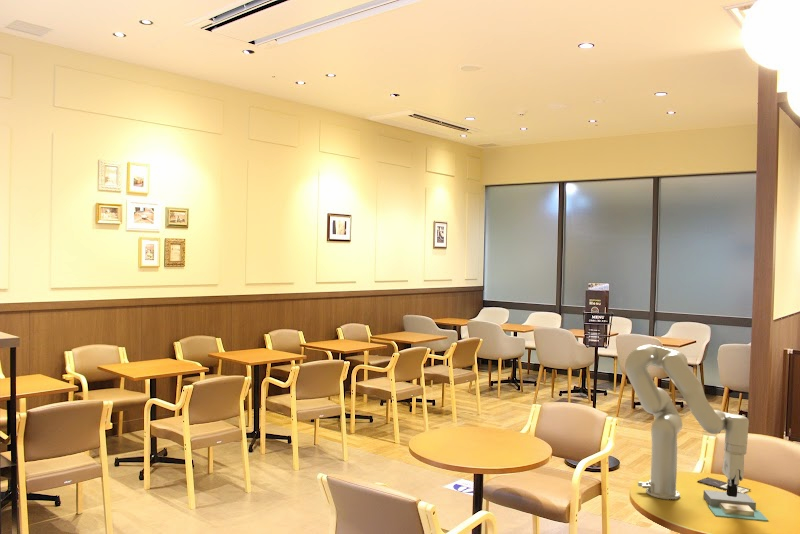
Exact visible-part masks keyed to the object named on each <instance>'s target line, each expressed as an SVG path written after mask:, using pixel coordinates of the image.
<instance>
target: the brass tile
mask: <svg viewBox="0 0 800 534" xmlns="http://www.w3.org/2000/svg"><path fill="white" fill-rule="evenodd" d="M719 507H720V508H721V509H722V510H723V511H724V512H725V513H729V514H739V515H750V516H754V511H753V510H752V509H751V508H750V507H749V506H748V505H745V504H734V503H723V502H720V504H719Z"/></svg>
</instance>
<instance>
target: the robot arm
mask: <svg viewBox="0 0 800 534" xmlns="http://www.w3.org/2000/svg"><path fill="white" fill-rule="evenodd" d="M688 363H689V362H688V359H687V356H686V355H685V354H684V353H682V352H681V351H678V350H673V349H670V348H666V347H665V348H664V347H661V346H657V345H654V344H653V345H652V344H643V345H640V346H637V347H635V348H634V349H633V350H631V352H630V353H629V354H628V356H627V358H626V359H625V363H624V370H625V374H626V375H627V378H628V380H629V382H630V384H631V386H632V389H633V390H634V392H635V395H636V396H637V399H638V400H639V403H640V405H641V407H642V409H643V410H644V411H645V412H646V413H648V414H650V415H652V416H653V417H654V420H653V422H652V424H651V427H650V428H651V429H650V430H651V431H650V433H651V456H650V457H651V459H650V460H651V461H650V463H651V464H650V479H648V481H645V482H643V481H640V480H639V481H638V482H637V486H638V487H640V488H641V487H642V488H641V489H645V492H646V494H647V495H649V496H651V497H653V498H655V499H656V498H657V499H661V500H669V499H670V501H671V499H672V500H678V499H679V498H681V493H680V492H679V491H677V475H678V474H677V469H678V434H679V433H680V432H681V430H682V429H683V420H682V418H681V415H680V413H679V412H678V410H677V408H676V405H675V404H674V401H673V400H672V398H671V396H670V395H669V393H668V392H667V391H666V390H665V389H663V388H661V387H657V385H656V382H655V381H654V379H653V377H652V375H651V374H650V373H649V370H648V367H650V366H652V367H656V368H660V369H663V372H664V373H665V374H666V375H667V377H669V379H670V381H671V382H672V383H673V385H674V386H675V387H676V389H677V390H678V392H679V393H680V394H681V395H682V397H683V399H684V401H685V403H686V406H687V407H688V409H689V410H690V412H691V413H692V416H693V417H694V418H695V420H696V421H697V422H698V423H699V425H700V426H701V428H703V429H704V430H705V432H707V433H709V434H712V435H716V434H719V433H721V432H722V431H725V435H724V446H723V450H724V455H723V461H722V469H721V472H722V474H723V475H724V476H725V477H726V479H727V480H726V483H727V491H726V492H727V495H728V496H731V497H737V489H738V486H739V485H740V482H741V481H743V480H744V472H745V455H747V450H748V435H749V426H750V424H749V423H750V420H749V418H748V417H746V416H744V415H741V414H735V413H733V414H732V413H729V412H725V411H722V410H719V409H713V406H711V404H710V402H709V401H708V399H707V397H706V394H705V391H704V386H703V384H702V383H701V380H699V378H698V377H697V375H696V374H695V373H694V372H693V371H692V369H691V367H690V366H689V365H688Z"/></svg>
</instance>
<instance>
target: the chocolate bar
mask: <svg viewBox="0 0 800 534" xmlns="http://www.w3.org/2000/svg"><path fill="white" fill-rule="evenodd" d="M696 483H699V484H701V485H702V484H703V485H706V486H709V487H712V486H713V488H715V487H716V489H719V490H722V489H723V491H726V490H727V481H723V480H719V479H716V478H712V477H708V476H707V477H705V478H702V479H699V480H697V482H696ZM750 490H751V491H752V489H750V488H747V487H743V486H739V485H738V489H737V493H744V494H747V493H749V492H750ZM748 491H749V492H748Z"/></svg>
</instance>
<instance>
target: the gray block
mask: <svg viewBox="0 0 800 534" xmlns="http://www.w3.org/2000/svg"><path fill="white" fill-rule="evenodd" d="M703 499H704V500H705V501H706V502H707V504H708V505H709V506H719V504H720V502H723V503H734V504H745V505H748V506H749V507H750V508H751V509H752V510H757V508H756V507H757V502H756V501H755V500H753V498H752V497H751V496H750V495H749V494H748V493H744V494H743V493H737V497H731V496H728V495H727V491H722V490H721V491H720V490H719V491H718V490H708V489H703Z"/></svg>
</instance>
